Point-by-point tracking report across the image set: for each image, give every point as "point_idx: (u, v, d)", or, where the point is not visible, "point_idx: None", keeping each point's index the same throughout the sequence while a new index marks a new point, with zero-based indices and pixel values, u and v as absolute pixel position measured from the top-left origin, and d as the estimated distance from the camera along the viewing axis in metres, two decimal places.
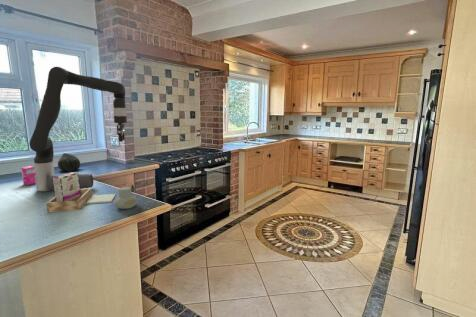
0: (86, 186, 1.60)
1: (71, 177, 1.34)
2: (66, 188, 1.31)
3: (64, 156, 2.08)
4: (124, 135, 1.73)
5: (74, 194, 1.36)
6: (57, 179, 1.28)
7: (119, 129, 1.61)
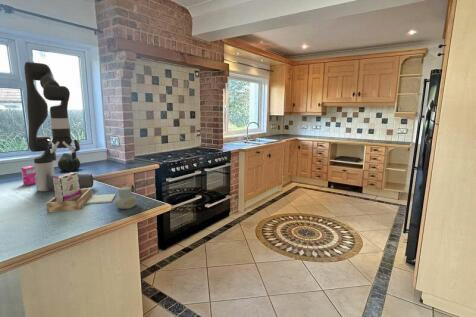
0: (86, 186, 1.60)
1: (71, 177, 1.34)
2: (66, 188, 1.31)
3: (64, 156, 2.08)
4: None
5: (74, 194, 1.36)
6: (57, 179, 1.28)
7: (78, 144, 1.33)
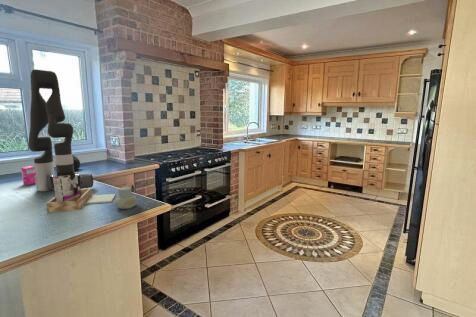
0: (86, 186, 1.60)
1: None
2: (66, 188, 1.31)
3: None
4: None
5: (74, 194, 1.36)
6: (57, 178, 1.28)
7: (81, 179, 1.36)
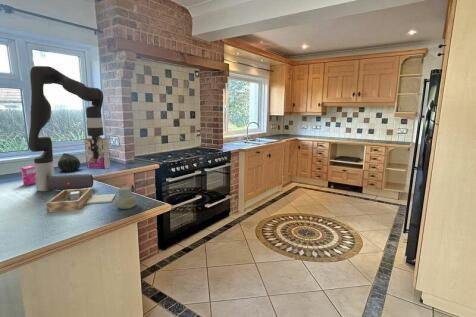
0: (86, 186, 1.60)
1: None
2: None
3: (64, 156, 2.08)
4: (93, 153, 1.37)
5: None
6: (106, 139, 1.39)
7: None
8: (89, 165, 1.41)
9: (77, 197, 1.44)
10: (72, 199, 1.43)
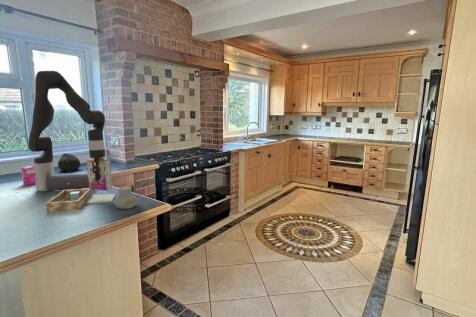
0: (86, 186, 1.60)
1: None
2: None
3: (64, 156, 2.08)
4: (95, 174, 1.39)
5: None
6: (108, 161, 1.41)
7: None
8: (91, 186, 1.43)
9: (77, 197, 1.44)
10: (72, 199, 1.43)
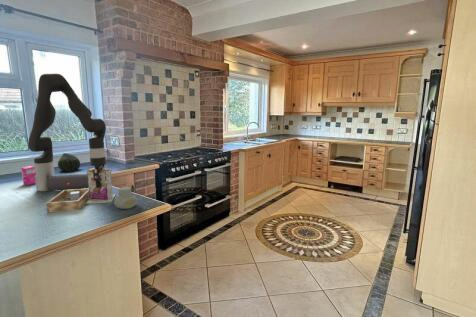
0: (86, 186, 1.60)
1: None
2: None
3: (64, 156, 2.08)
4: None
5: None
6: (109, 170, 1.42)
7: None
8: (92, 195, 1.43)
9: (77, 197, 1.44)
10: (72, 199, 1.43)
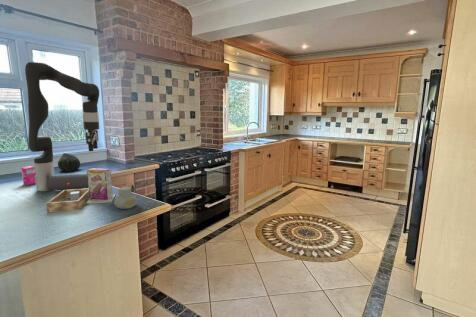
0: (86, 186, 1.60)
1: None
2: None
3: (64, 156, 2.08)
4: None
5: None
6: (109, 170, 1.42)
7: None
8: (92, 195, 1.43)
9: (77, 197, 1.44)
10: (72, 199, 1.43)
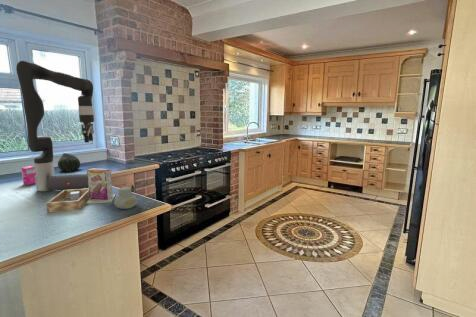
0: (86, 186, 1.60)
1: None
2: None
3: (64, 156, 2.08)
4: (84, 137, 1.52)
5: None
6: (109, 170, 1.42)
7: None
8: (92, 195, 1.43)
9: (77, 197, 1.44)
10: (72, 199, 1.43)
